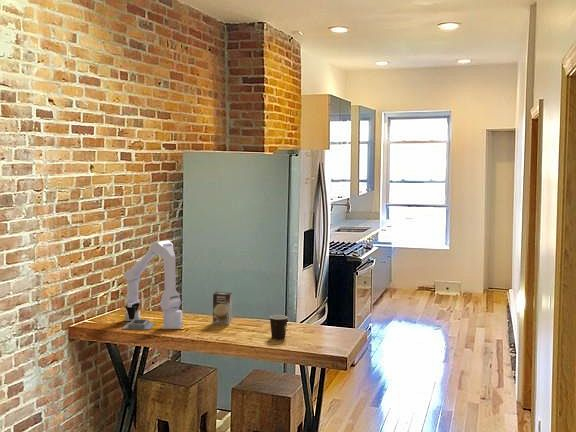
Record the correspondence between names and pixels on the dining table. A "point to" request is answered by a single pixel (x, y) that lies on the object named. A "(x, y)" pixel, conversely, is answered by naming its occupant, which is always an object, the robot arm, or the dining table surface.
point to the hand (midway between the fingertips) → (132, 317)
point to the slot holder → (139, 324)
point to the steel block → (136, 316)
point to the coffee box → (222, 308)
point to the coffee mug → (278, 326)
